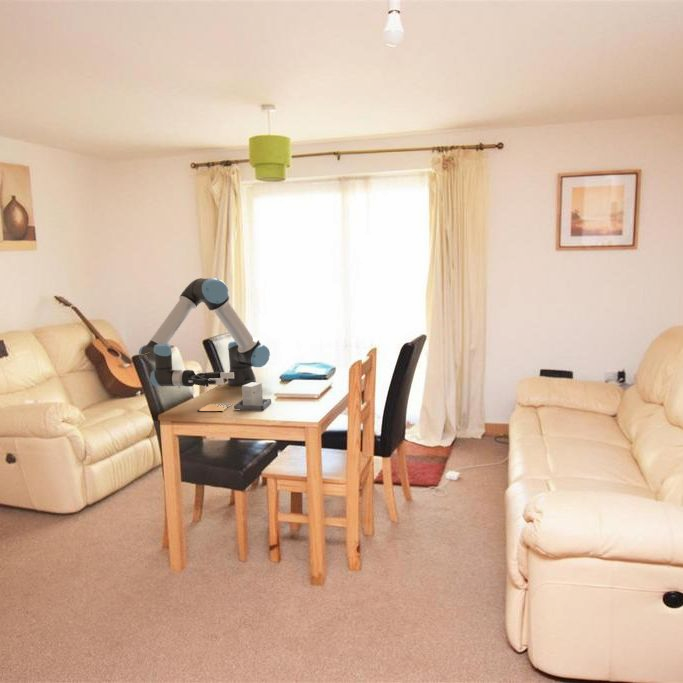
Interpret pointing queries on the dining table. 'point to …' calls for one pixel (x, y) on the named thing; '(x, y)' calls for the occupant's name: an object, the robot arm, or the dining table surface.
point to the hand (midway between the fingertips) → (228, 378)
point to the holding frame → (253, 407)
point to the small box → (252, 394)
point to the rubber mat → (222, 404)
